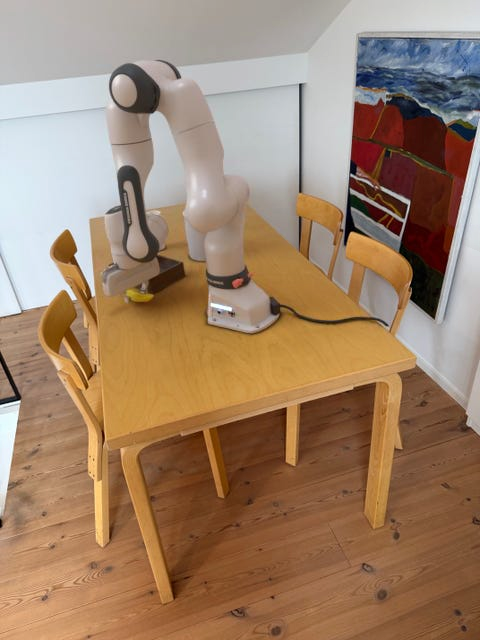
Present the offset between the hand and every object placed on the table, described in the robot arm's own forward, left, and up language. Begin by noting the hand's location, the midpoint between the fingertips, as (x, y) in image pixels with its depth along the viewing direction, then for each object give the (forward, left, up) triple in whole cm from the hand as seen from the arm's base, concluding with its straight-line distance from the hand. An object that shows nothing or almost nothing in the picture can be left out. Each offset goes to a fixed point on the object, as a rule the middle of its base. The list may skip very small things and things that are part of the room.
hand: (136, 297), depth 148 cm
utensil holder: (+6, -40, -2) cm, 40 cm away
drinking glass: (+28, -34, -2) cm, 44 cm away
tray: (+11, -14, -2) cm, 18 cm away
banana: (0, 0, -2) cm, 2 cm away
